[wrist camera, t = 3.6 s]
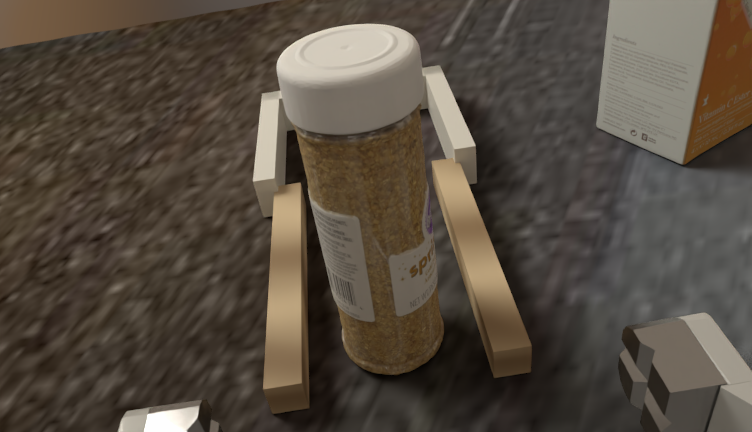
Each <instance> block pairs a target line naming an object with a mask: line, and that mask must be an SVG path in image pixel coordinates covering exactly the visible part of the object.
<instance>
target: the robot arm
mask: <svg viewBox="0 0 752 432" xmlns="http://www.w3.org/2000/svg"><path fill="white" fill-rule="evenodd" d="M622 341H623V343H624V345H625V347H626V349H625V350H624V351H623V352H622V353H621V354H620V355H619V364H618V368H619V374H620V380H621V383H622V386H623V389H624V392H625V394H626V396H627V398H628V400H629V402H630V403H631V404H633V405H634V406H636V407H638V408H639V409H641V410H642V416H641V421H640V423H641V425H642V427H643V429H644V431H645V432H752V370H751V369H750V368H749V366H748V365H747V364H746V362H745V361H744V360H743V358H742V357H741V356H740V354H739V353H738V352H737V350H736V349H735V348H734V346H733V345H732V344H731V342H730V341H729V340H728V339H727V337H726V336H725V335H724V333H723V332H722V331H721V329H720V328H719V327H718V325H717V324H716V323H715V321H714V320H713V319H712V317H711V316H710V315H708V314H706V313H699V314H693V315H688V316H682V317H678V318H676V317H673V318H668V319H662V320H657V321H651V322H646V323H641V324H635V325H630V326H626V327H625V329H624V330H623V334H622ZM211 416H212V408H211V406H210V405H209V403H208V401H207V399H206V400H198V401H191V402H184V403H177V404H170V405H163V406H156V407H150V408H144V409H137V410H131V411H127V412H126V413H125V415H124V416H123V418H122V419H121V422H120V426H119V429H118V432H223V431H222V429H221V427H220V425H219V423H217V422H215V421H213V420H211Z"/></svg>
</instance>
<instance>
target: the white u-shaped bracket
mask: <svg viewBox="0 0 752 432" xmlns="http://www.w3.org/2000/svg"><path fill="white" fill-rule="evenodd" d="M422 72H423V85H424V95H423V98H422V101H421V102H420V103H421V105H422V107H421V109H427V108H428V110H429V112H430V115H431V118H432V121H433V123H434V126H435V129H436V132H437V134H438V137H439V140H440V143H441V146H442V148H443V151H444V154H445V157H446V159H449V158H453V159H454V162H455V163H459V162H460V164H461V166H462V169H463V172H464V174H465V177H466V179H467V182H468V184H475V183H477V168H476V145H475V143H474V141H473V139H472V136H471V134H470V132H469V130H468V127H467V125H466V123H465V121H464V119H463V116H462V114H461V112H460V110H459V107H458V105H457V103H456V101H455V98H454V96H453V94H452V92H451V90H450V87H449V85H448V83H447V81H446V78H445V76H444V74H443V72H442V70H441V67H440V65H439V66H432V67H426V68H422ZM421 109H420V110H421ZM290 130H295V129H294V127H293V125H292V123H291V121H290V120H289V118H288V117H287V115H286V112H285V108H284V104H283V99H282V95H281V91H276V92H270V93H264V94H262V101H261V110H260V120H259V129H258V139H257V148H256V157H255V167H254V176H253V184H254V187H255V190H256V194H257V197H258V200H259V204H260V207H261V211H262V214H263V217H270V216H273V203H274V192H278V186H281V185H285V174H286V141H287V131H290Z"/></svg>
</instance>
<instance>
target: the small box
mask: <svg viewBox="0 0 752 432" xmlns="http://www.w3.org/2000/svg"><path fill="white" fill-rule="evenodd" d="M751 124H752V0H610V5H609V14H608V23H607V33H606V42H605V51H604V61H603V70H602V79H601V87H600V96H599V106H598V115H597V123H596V126H597V127H598V128H600V129H602V130H604V131H606V132H608V133H610V134H613V135H615V136H617V137H619V138H621V139H624V140H626V141H628V142H630V143H633V144H635V145H637V146H639V147H642V148H644V149H646V150H648V151H650V152H653V153H655V154H658V155H660V156H662V157H665V158H667V159H669V160H672V161H674V162H676V163H678V164H682V165H684V164H686V163H688V162H689V161H691V160H692V159H693V158H695V157H696V156H698V155H700V154H701V153H703V152H704V151H706V150H708V149H709V148H711V147H713V146H715V145H716V144H718V143H720V142H721V141H723V140H725V139H726V138H728V137H730V136H732V135H733V134H735V133H737V132H739V131H740V130H742V129H744V128H746V127H747V126H749V125H751Z"/></svg>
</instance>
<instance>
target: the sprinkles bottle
mask: <svg viewBox="0 0 752 432" xmlns="http://www.w3.org/2000/svg"><path fill="white" fill-rule="evenodd" d="M277 75H278V80H279V85H280V90H281V95H282V99H283V104H284V108H285V112H286V115H287V117H288V118H289V120H290V121H291V123H292V125H293V127H294V129H295V131H296V133H297V138H298V143H299V147H300V152H301V155H302V159H303V164H304V168H305V173H306V176H307V180H308V193H309V198H310V203H311V207H312V211H313V215H314V219H315V223H316V227H317V232H318V236H319V240H320V244H321V248H322V252H323V257H324V261H325V265H326V269H327V273H328V278H329V282H330V286H331V290H332V294H333V297H334V300H335V302H336V304H337V306H338V310H339V313H340V319H341V325H342V327H343V328H342V341H343V346H344V348H345V350H346V352H347V354H348V356H349V357H350V359H351V360H352V361H353V362H355V363H356V364H357V365H358V366H359V367H361V368H363V369H365V370H367V371H370V372H373V373H378V374H386V375H399V374H402V373H405V372H410V371H412V370H414V369H416V368H417V367H419V366H421V365H422V364H425V363H426V362H428V361H429V359H430V358H432V357H433V356H434V355H435V354H436V352H437V351H438V349H439V347H440V345H441V342H442V340H443V335H444V323H443V319H442V317H441V315H440V311H439V300H438V290H437V265H436V255H435V247H434V238H433V227H432V219H431V208H430V197H429V187H428V182H427V180H426V171H425V161H424V150H423V143H422V133H421V117H420V109H421V107H422V105H421V103H420V102H421V101H422V98H423V95H424V85H423V72H422V63H421V55H420V48H419V44H418V42H417V41H416V39H415V38H414V37H413V36H412V35H411V34H410V33H408V32H406V31H405V30H402V29H400V28H397V27H393V26H388V25H381V24H356V25H346V26H340V27H335V28H330V29H327V30H323V31H319V32H317V33H314V34H311V35H308V36H306V37H304V38H302V39H300V40H298V41H296V42H295V43H293V44H292V45H290V46H289V47H288V48H287V49H286V50H285V51H284V52H283V53H282V54H281V55H280V57H279V59H278V62H277Z"/></svg>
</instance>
